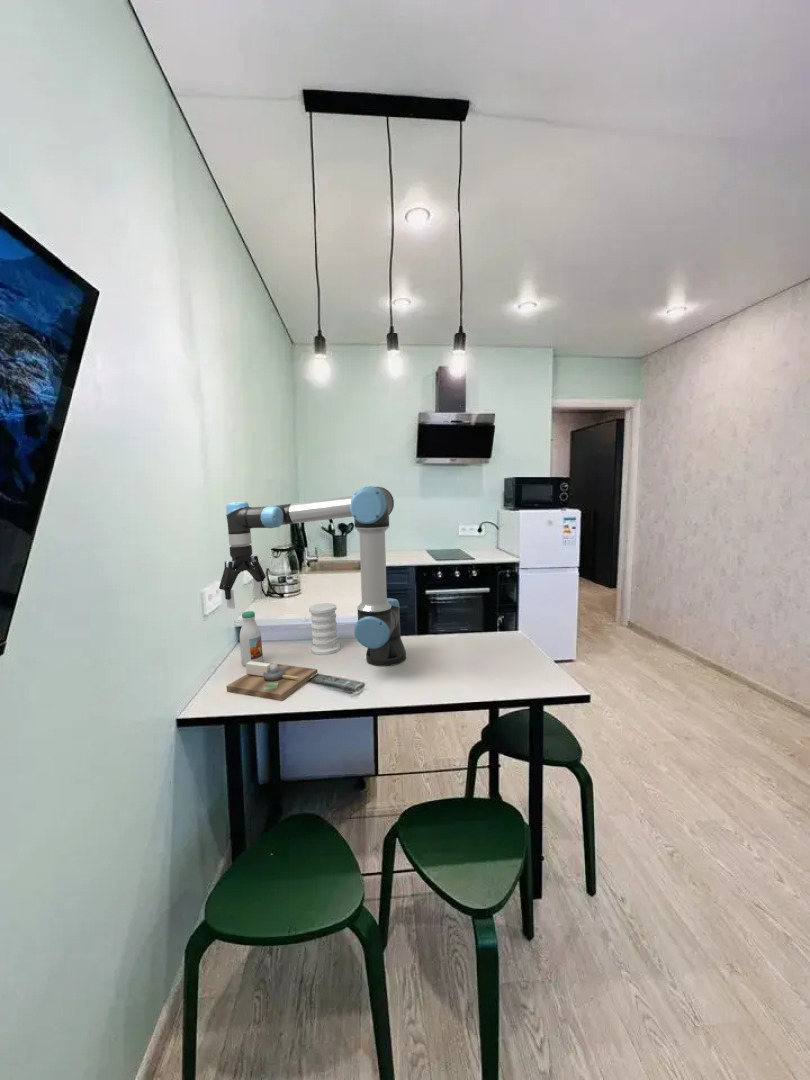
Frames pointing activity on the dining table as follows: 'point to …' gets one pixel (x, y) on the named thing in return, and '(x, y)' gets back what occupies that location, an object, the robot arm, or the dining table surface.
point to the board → (272, 683)
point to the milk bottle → (250, 639)
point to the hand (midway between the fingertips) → (245, 603)
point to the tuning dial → (267, 671)
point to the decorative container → (324, 629)
